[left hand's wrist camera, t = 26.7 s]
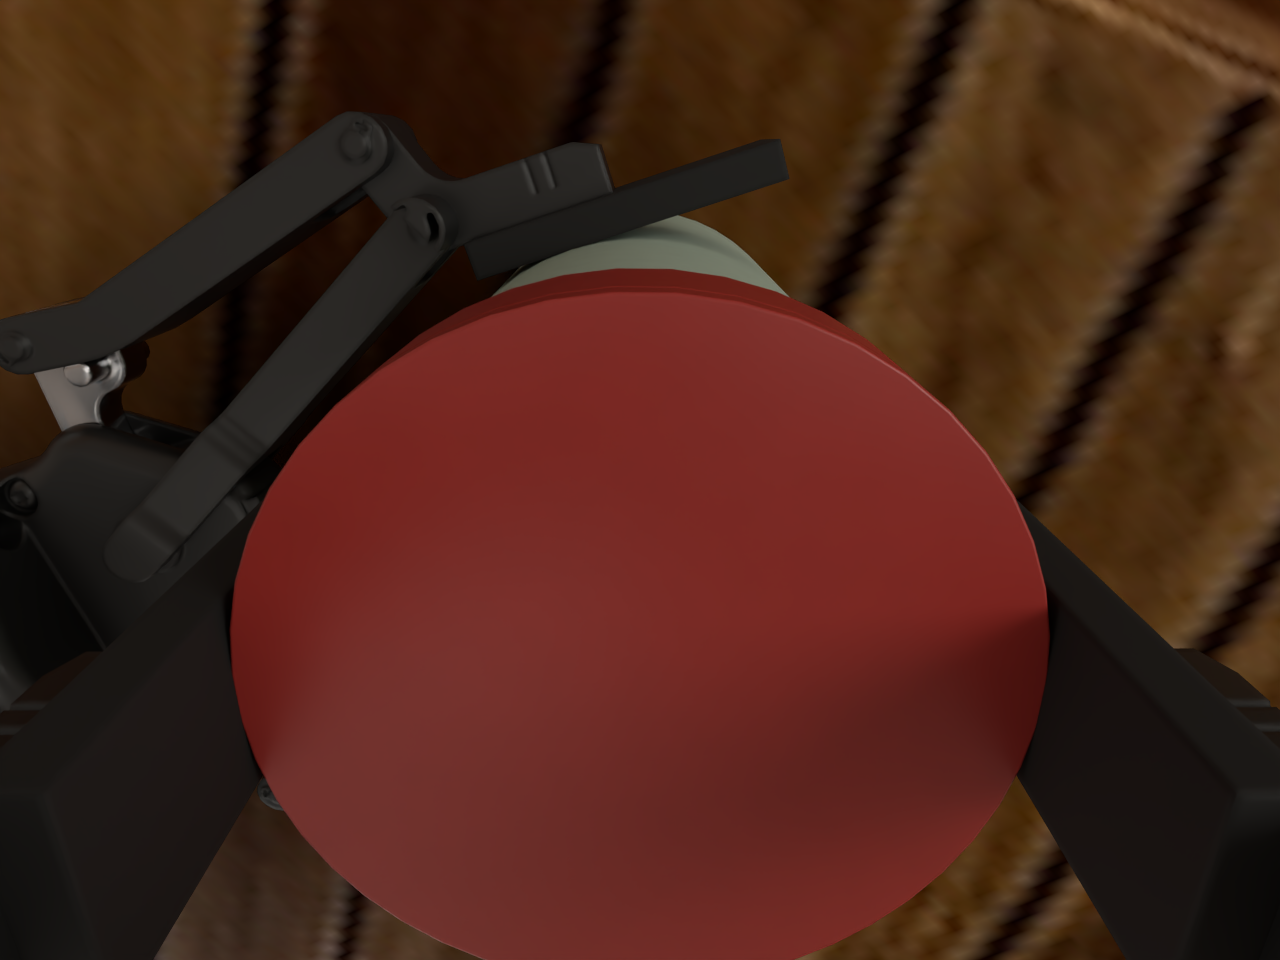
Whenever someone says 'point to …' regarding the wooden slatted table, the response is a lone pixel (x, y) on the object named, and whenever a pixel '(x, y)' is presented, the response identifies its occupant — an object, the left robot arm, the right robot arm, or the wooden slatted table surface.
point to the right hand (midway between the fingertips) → (826, 380)
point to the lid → (639, 627)
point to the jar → (652, 255)
